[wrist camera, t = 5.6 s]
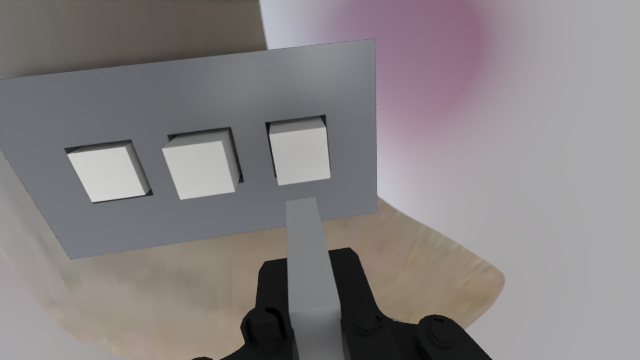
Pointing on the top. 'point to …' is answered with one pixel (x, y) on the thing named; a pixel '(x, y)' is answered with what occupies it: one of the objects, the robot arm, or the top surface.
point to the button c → (300, 150)
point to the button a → (110, 170)
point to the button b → (203, 162)
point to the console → (187, 116)
